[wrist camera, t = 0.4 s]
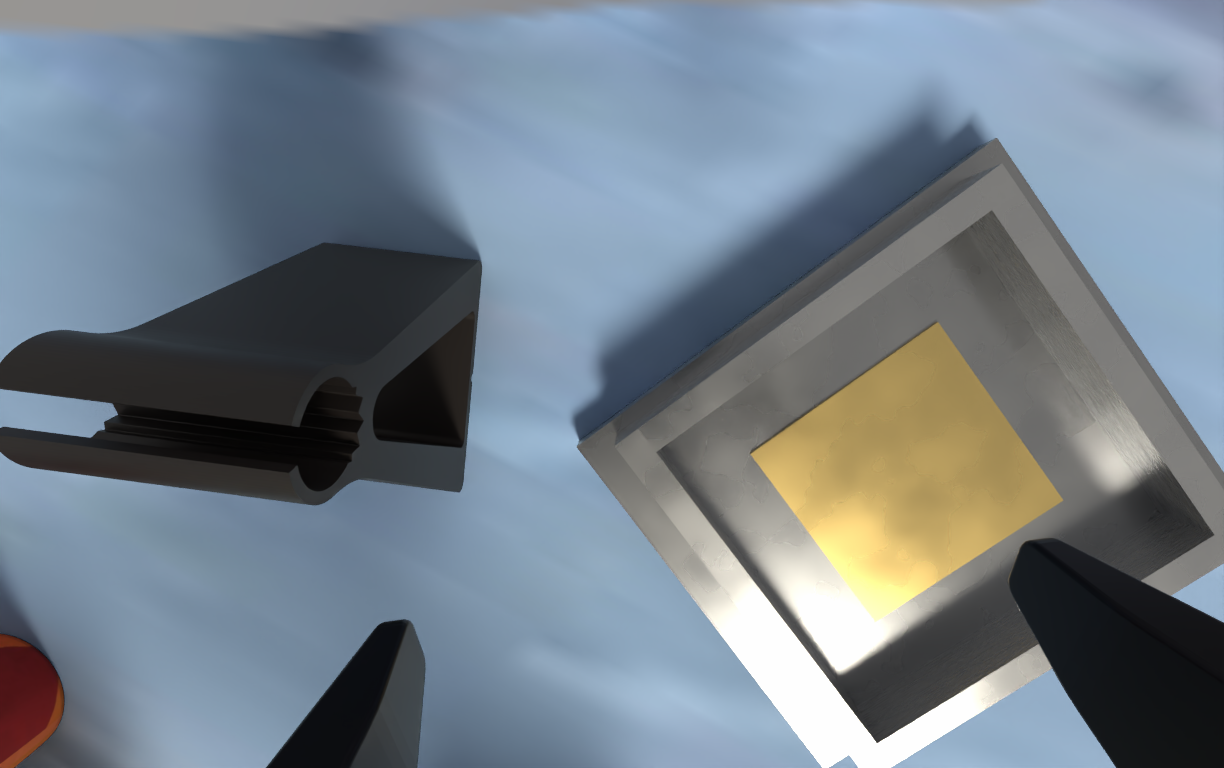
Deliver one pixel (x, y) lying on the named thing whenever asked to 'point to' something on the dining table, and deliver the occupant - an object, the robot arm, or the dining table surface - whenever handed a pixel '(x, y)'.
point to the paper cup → (26, 700)
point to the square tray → (912, 465)
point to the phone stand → (274, 381)
